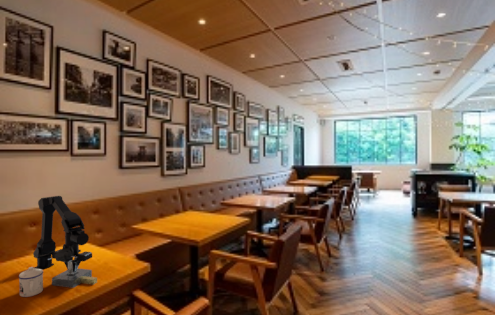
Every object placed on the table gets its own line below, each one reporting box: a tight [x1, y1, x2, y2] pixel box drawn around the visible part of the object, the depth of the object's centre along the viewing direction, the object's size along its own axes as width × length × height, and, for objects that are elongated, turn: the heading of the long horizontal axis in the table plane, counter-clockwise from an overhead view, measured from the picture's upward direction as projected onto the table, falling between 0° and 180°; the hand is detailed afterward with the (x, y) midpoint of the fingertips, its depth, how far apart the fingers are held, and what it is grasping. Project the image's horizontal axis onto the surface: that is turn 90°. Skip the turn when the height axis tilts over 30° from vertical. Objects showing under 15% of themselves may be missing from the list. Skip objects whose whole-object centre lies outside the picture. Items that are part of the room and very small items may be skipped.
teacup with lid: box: [18, 266, 44, 298], centre depth 131 cm, size 12×9×12 cm
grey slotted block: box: [51, 268, 98, 289], centre depth 143 cm, size 19×12×4 cm, turn 79°
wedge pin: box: [67, 260, 77, 276], centre depth 144 cm, size 3×3×8 cm
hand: (72, 271), depth 144 cm, fingers closed on wedge pin, 3 cm apart
